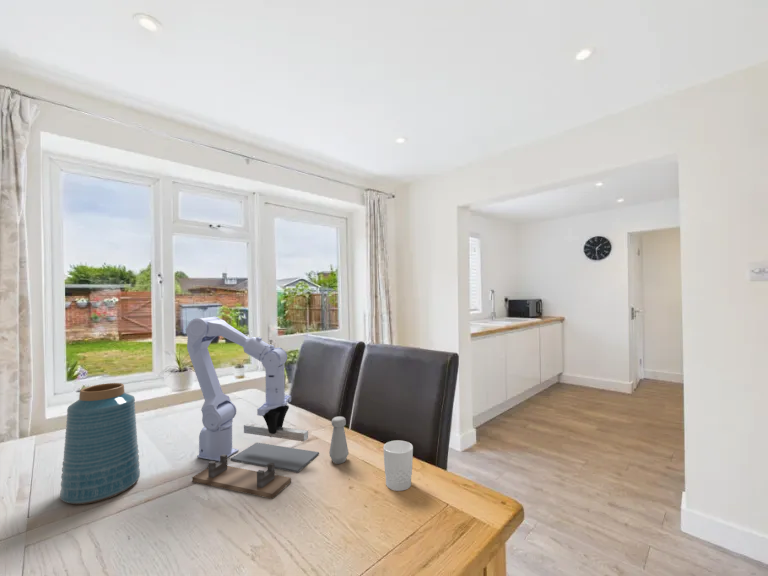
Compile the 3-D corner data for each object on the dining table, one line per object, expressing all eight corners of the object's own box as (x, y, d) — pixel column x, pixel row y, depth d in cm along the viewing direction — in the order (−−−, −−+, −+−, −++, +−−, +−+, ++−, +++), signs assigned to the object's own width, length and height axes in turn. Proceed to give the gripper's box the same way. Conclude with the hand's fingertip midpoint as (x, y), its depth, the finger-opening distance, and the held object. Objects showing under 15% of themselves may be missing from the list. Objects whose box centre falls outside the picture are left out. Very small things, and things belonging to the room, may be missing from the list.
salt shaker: (345, 466, 103) (344, 421, 103) (326, 464, 104) (326, 420, 104) (350, 457, 108) (350, 415, 109) (333, 455, 110) (333, 413, 110)
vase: (48, 515, 81) (49, 399, 81) (72, 481, 95) (72, 384, 96) (134, 495, 88) (134, 390, 89) (144, 467, 103) (144, 377, 103)
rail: (243, 432, 111) (243, 425, 111) (249, 430, 114) (249, 422, 114) (303, 441, 104) (303, 433, 104) (308, 438, 106) (308, 430, 107)
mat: (230, 460, 107) (230, 458, 107) (256, 444, 118) (256, 442, 118) (298, 472, 99) (298, 470, 99) (319, 454, 111) (319, 452, 111)
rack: (192, 481, 95) (192, 462, 95) (215, 467, 103) (215, 450, 103) (272, 498, 87) (272, 478, 87) (290, 482, 94) (290, 463, 94)
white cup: (416, 479, 95) (416, 442, 95) (409, 495, 88) (408, 455, 88) (389, 474, 98) (388, 438, 98) (379, 489, 90) (379, 450, 90)
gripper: (271, 395, 101) (271, 442, 101) (299, 382, 115) (299, 424, 114) (251, 393, 103) (251, 439, 103) (280, 381, 117) (281, 422, 117)
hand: (275, 431), depth 109 cm, fingers closed on rail, 2 cm apart
